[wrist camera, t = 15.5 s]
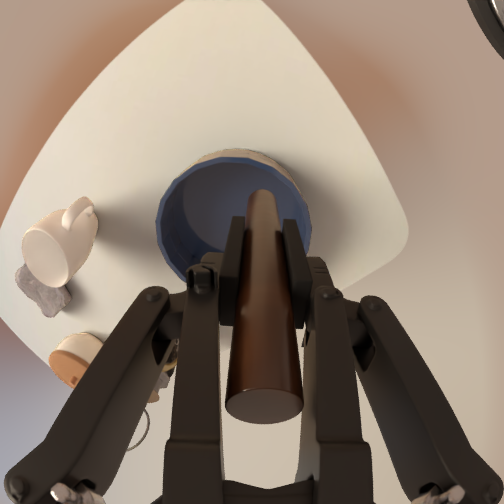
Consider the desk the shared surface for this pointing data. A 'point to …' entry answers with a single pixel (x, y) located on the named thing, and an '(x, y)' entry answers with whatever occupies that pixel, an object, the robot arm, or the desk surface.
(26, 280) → the stone block
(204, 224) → the stir bowl
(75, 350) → the lidded bowl
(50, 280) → the mug
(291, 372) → the stick
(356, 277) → the desk surface
